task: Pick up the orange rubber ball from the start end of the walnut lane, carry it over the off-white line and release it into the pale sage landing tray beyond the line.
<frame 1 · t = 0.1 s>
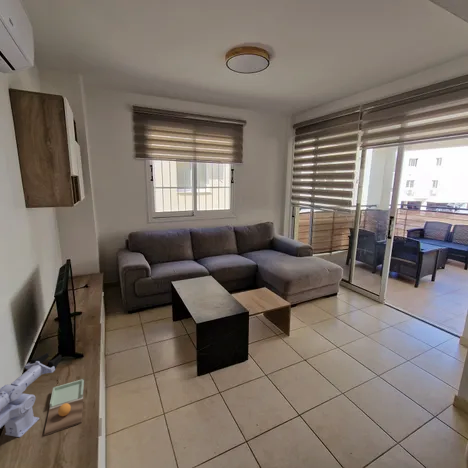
hand: (54, 355, 132), 21 cm above the table, tool horizontal, fingers open, 7 cm apart
tray: (68, 396, 134), resting on lane
ball: (64, 409, 122), point 3 cm above the table, touching lane
lane: (66, 406, 128), on the table
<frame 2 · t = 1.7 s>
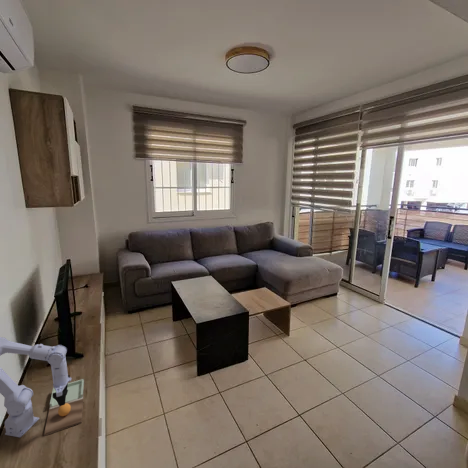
hand: (63, 398, 121), 10 cm above the table, tool pointing down, fingers open, 7 cm apart
nothing on the table moved.
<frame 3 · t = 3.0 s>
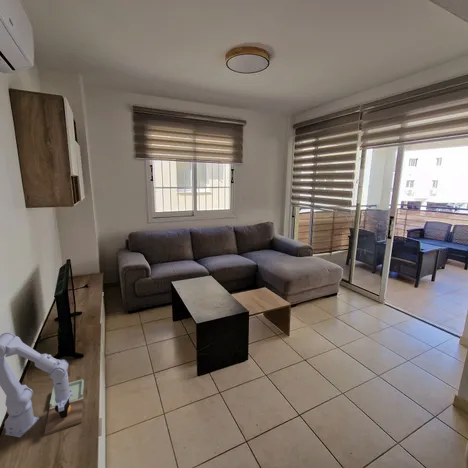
hand: (64, 412, 122), 2 cm above the table, tool pointing down, fingers closed on ball, 5 cm apart
ball: (64, 409, 122), point 3 cm above the table, touching gripper, lane
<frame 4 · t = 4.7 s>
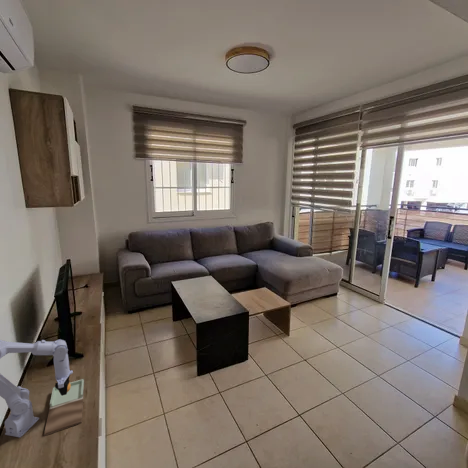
hand: (64, 390, 126), 9 cm above the table, tool pointing down, fingers closed on ball, 5 cm apart
ball: (64, 387, 126), point 11 cm above the table, touching gripper
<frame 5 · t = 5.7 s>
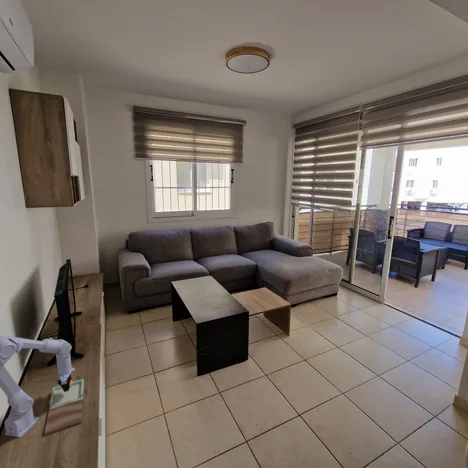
hand: (67, 387, 133), 5 cm above the table, tool pointing down, fingers closed on ball, 5 cm apart
ball: (67, 384, 133), point 7 cm above the table, touching gripper
when the fingers open (4 cm above the table, at t = 6.4 s): ball drops 1 cm, resting on tray.
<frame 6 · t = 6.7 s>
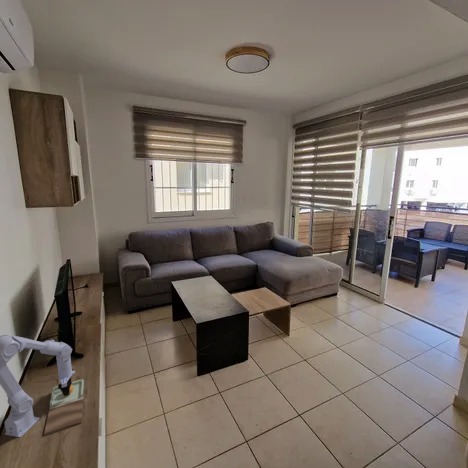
hand: (67, 389, 133), 4 cm above the table, tool pointing down, fingers open, 7 cm apart
ball: (67, 389, 133), point 4 cm above the table, touching tray
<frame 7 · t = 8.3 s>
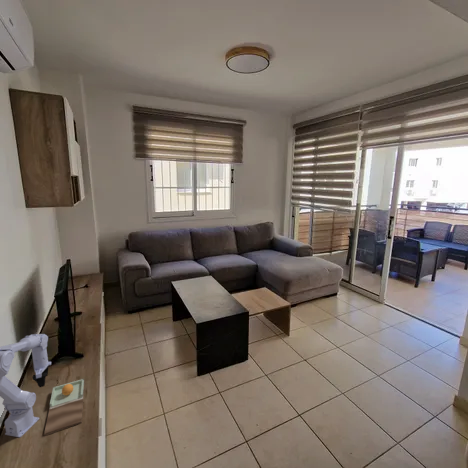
hand: (43, 381, 131), 9 cm above the table, tool pointing down, fingers open, 7 cm apart
nothing on the table moved.
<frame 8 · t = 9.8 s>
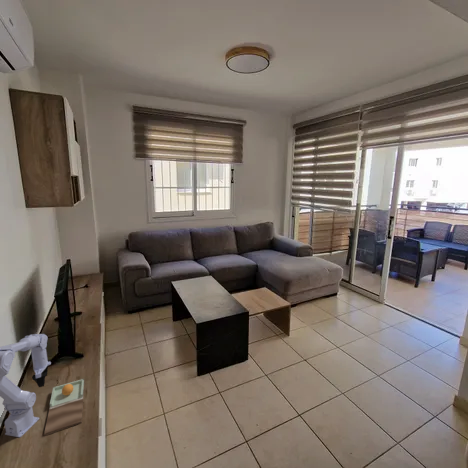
hand: (43, 381, 131), 9 cm above the table, tool pointing down, fingers open, 7 cm apart
nothing on the table moved.
at the end: ball 0.1 cm from the tray (horizontally); ball point 3.8 cm above the table; the gripper is holding nothing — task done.
